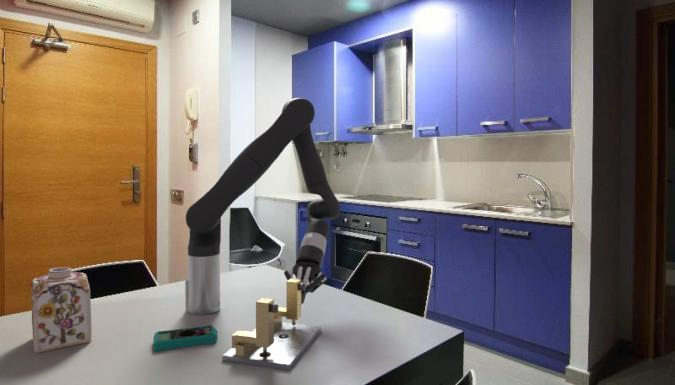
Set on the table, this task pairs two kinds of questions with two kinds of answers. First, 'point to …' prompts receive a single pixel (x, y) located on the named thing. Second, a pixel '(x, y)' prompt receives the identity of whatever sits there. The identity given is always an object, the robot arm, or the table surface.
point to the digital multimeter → (184, 337)
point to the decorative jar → (60, 310)
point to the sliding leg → (292, 301)
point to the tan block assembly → (258, 329)
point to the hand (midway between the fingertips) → (297, 304)
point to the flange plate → (279, 347)
